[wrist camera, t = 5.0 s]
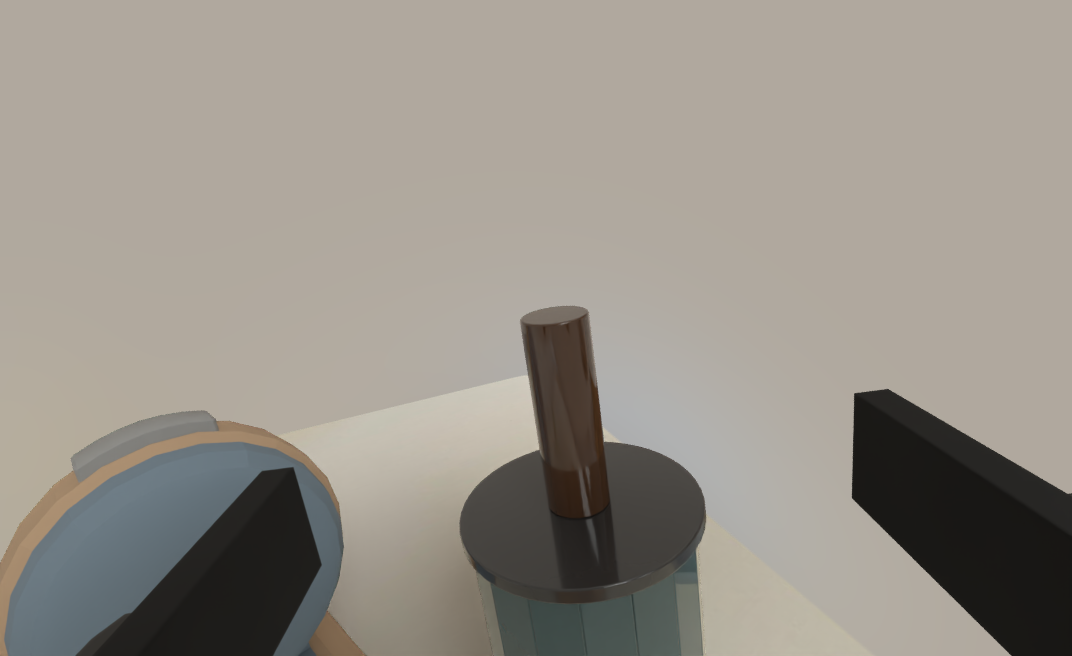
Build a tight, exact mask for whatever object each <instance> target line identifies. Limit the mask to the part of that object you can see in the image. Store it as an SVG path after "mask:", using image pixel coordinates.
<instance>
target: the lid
mask: <svg viewBox="0 0 1072 656" xmlns="http://www.w3.org/2000/svg"><path fill="white" fill-rule="evenodd" d="M520 325H521V331H522V338H523V344H524V351H525V358H526V364H527V370H528V377H529V384H530V390H531V397H532V403H533V410H534V417H535V423H536V430H537V436H538V443H539V449H540V450H538V451H535V452H532V453H529V454H526V455H524V456H521V457H519V458H517V459H514V460H512V461H511V462H509V463H507V464H505V465H503V466H501V467H500V468H498V469H497V470H495V471H494V472H492V473H491V474H490V475H488V476H487V477H486V478H485V479H484V480H482V481H481V482H480V483H479V484H478V485H477V486H476V488H475V489H474V490H473V491H472V493H471V494H470V495H469V497H468V499H467V500H466V502H465V504H464V507H463V509H462V512H461V517H460V522H459V526H460V536H461V541H462V545H463V549H464V553H465V555H466V557H467V559H468V560H469V562H470V564H471V565H472V566H473V567H474V569H475V570H476V571H477V572H478V573H479V574H480V575H481V576H482V577H483V578H485V579H486V580H487V581H488V582H490V583H491V584H493V585H495V586H496V587H498V588H499V589H502V590H504V591H506V592H508V593H511V594H513V595H516V596H519V597H522V598H526V599H529V600H534V601H540V602H545V603H555V604H588V603H595V602H603V601H609V600H613V599H617V598H621V597H625V596H628V595H631V594H634V593H637V592H639V591H642V590H645V589H647V588H649V587H651V586H653V585H655V584H657V583H659V582H661V581H662V580H664V579H665V578H667V577H668V576H670V575H671V574H673V573H674V572H675V571H677V570H678V569H679V568H680V567H681V566H682V565H683V564H685V563H686V561H687V560H688V559H689V558H690V557H691V556H692V554H693V553H694V552H695V550H696V548H697V547H698V545H699V543H700V541H701V539H702V536H703V533H704V530H705V523H706V510H705V501H704V496H703V494H702V490H701V488H700V487H699V485H698V483H697V482H696V480H695V479H694V478H693V476H692V475H691V474H690V473H689V472H688V471H687V470H686V469H685V468H684V467H682V466H681V465H680V464H678V463H677V462H675V461H674V460H672V459H670V458H668V457H666V456H664V455H662V454H660V453H657V452H655V451H652V450H649V449H646V448H642V447H639V446H634V445H628V444H622V443H614V442H604V438H603V430H602V421H601V412H600V404H599V395H598V387H597V378H596V370H595V361H594V352H593V344H592V336H591V327H590V318H589V312H588V310H587V309H585V308H583V307H577V306H560V307H559V306H558V307H550V308H545V309H541V310H537V311H533V312H531V313H529V314H526V315H524V316H523V317H522V318H521V320H520Z"/></svg>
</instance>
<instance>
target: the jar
mask: <svg viewBox="0 0 1072 656" xmlns="http://www.w3.org/2000/svg"><path fill="white" fill-rule="evenodd" d="M476 574H477V579H478V584H479V589H480V594H481V599H482V604H483V608H484V613H485V618H486V623H487V628H488V633H489V638H490V643H491V648H492V653H493V656H706V650H705V635H704V620H703V606H702V591H701V576H700V561H699V547H697V548H696V550H695V552H694V553H693V554H692V556H691V557H690V558H689V559H688V560H687V561H686V563H685V564H683V565H682V566H681V567H680V568H679V569H678V570H677V571H675V572H674V573H673V574H671V575H670V576H668V577H667V578H665V579H664V580H662V581H661V582H659V583H657V584H655V585H653V586H651V587H649V588H647V589H645V590H642V591H639V592H637V593H634V594H631V595H628V596H625V597H621V598H617V599H613V600H609V601H603V602H595V603H588V604H555V603H545V602H540V601H534V600H529V599H526V598H522V597H519V596H516V595H513V594H511V593H508V592H506V591H504V590H502V589H499V588H498V587H496V586H495V585H493V584H491V583H490V582H488V581H487V580H486V579H485V578H483V577H482V576H481V575H480V574H479V573H478V572H477V571H476Z"/></svg>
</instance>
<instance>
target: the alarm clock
mask: <svg viewBox="0 0 1072 656" xmlns="http://www.w3.org/2000/svg"><path fill="white" fill-rule="evenodd" d="M71 462H72V466H73V471H72V472H71V473H69V474H68V475H67V476H65V477H64V478H63V479H61V480H60V481H58V482H57V483H56V484H54V485H53V487H52V488H51V489H50V490H49V491H48V492H47V493H46V495H45V496H44V497H43V498H42V499H41V500H40V502H39V503H38V504H37V505H36V506H35V507H34V508H33V509H32V511H31V512H30V513H29V514H28V515H27V516H26V518H25V519H24V520H23V521H22V522H21V523H20V524H19V526H18V528H17V530H16V532H15V534H14V537H13V539H12V540H11V542H10V545H9V546H8V548H7V550H6V553H5V554H4V556H3V559H2V560H1V562H0V656H75V655H76V654H77V653H78V652H79V651H80V650H81V649H82V648H83V647H84V646H85V645H86V644H87V643H88V642H89V641H90V640H91V639H92V638H93V637H94V636H96V635H97V634H99V633H100V632H101V631H103V630H104V629H105V628H107V627H108V626H109V625H111V624H112V623H113V622H115V621H116V620H117V619H119V618H120V617H121V616H123V615H124V614H127V613H132V612H133V611H134V610H135V609H136V608H137V606H138V605H139V604H140V603H141V602H142V601H143V600H144V599H145V598H146V597H147V596H148V594H149V593H150V592H151V591H152V590H153V589H154V588H155V587H156V586H157V585H158V584H159V582H160V581H161V580H162V579H163V578H164V577H165V576H166V575H167V574H168V573H169V572H170V570H171V569H172V568H173V567H174V566H175V565H176V564H177V563H178V562H179V561H180V560H181V558H182V557H183V556H184V555H185V554H186V553H187V552H188V551H189V550H190V549H191V548H192V546H193V545H194V544H195V543H196V542H197V541H198V540H199V539H200V538H201V537H202V536H203V534H204V533H205V532H206V531H207V530H208V529H209V528H210V527H211V526H212V525H213V524H214V522H215V521H216V520H217V519H218V518H219V517H220V516H221V515H222V514H223V513H224V512H225V510H226V509H227V508H228V507H229V506H230V505H231V504H232V503H233V502H234V501H235V500H236V498H237V497H238V496H239V495H240V494H241V493H242V492H243V491H244V490H245V489H246V488H247V486H248V485H249V484H250V483H251V482H252V481H253V480H254V479H255V478H256V477H257V476H258V474H259V473H260V472H261V471H265V470H273V469H281V468H288V467H294V470H295V474H296V477H297V481H298V484H299V487H300V491H301V494H302V498H303V501H304V505H305V508H306V512H307V515H308V518H309V522H310V525H311V529H312V532H313V536H314V539H315V543H316V546H317V550H318V553H319V556H320V560H321V563H322V566H321V568H320V569H319V571H318V573H317V575H316V577H315V579H314V581H313V582H312V584H311V586H310V588H309V590H308V592H307V594H306V595H305V597H304V599H303V601H302V603H301V605H300V607H299V609H298V610H297V612H296V614H295V616H294V618H293V620H292V622H291V623H290V625H289V627H288V629H287V631H286V633H285V635H284V636H283V638H282V640H281V642H280V644H279V646H278V648H277V649H276V651H275V653H274V655H273V656H365V655H364V653H363V652H362V651H361V650H360V649H359V648H358V646H357V645H356V644H355V643H354V642H353V641H352V639H351V638H350V637H349V636H348V635H347V633H346V632H345V631H344V630H343V629H342V628H341V626H340V625H339V624H338V623H337V622H336V621H335V619H334V618H333V617H332V616H331V615H330V614H329V612H328V611H327V609H328V606H329V604H330V601H331V598H332V596H333V593H334V591H335V588H336V585H337V582H338V579H339V575H340V568H341V561H342V554H343V548H344V545H343V537H342V525H341V517H340V509H339V503H338V501H337V498H336V496H335V494H334V492H333V489H332V487H331V485H330V483H329V481H328V478H327V477H326V476H325V475H324V473H323V472H322V471H321V470H320V469H319V468H318V467H317V466H316V465H315V464H314V463H313V462H312V461H311V459H310V458H309V457H308V456H307V455H306V454H304V453H303V452H301V451H300V450H298V449H297V448H296V447H294V446H293V445H291V444H290V443H288V442H286V441H284V440H282V439H281V438H279V437H277V436H275V435H273V434H272V433H270V432H268V431H266V430H264V429H261V428H257V427H252V426H248V425H244V424H239V423H235V422H231V421H216V419H215V418H214V417H212V416H211V415H210V414H209V413H208V412H207V411H188V412H179V413H172V414H166V415H160V416H156V417H152V418H149V419H145V420H141V421H138V422H136V423H133V424H131V425H128V426H125V427H123V428H120V429H118V430H116V431H114V432H112V433H110V434H108V435H106V436H104V437H102V438H100V439H98V440H97V441H95V442H93V443H92V444H90V445H88V446H87V447H85V448H84V449H82V450H81V451H79V452H78V453H76V454H74V455H73V456H72V457H71Z"/></svg>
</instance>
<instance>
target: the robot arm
mask: <svg viewBox="0 0 1072 656" xmlns="http://www.w3.org/2000/svg"><path fill="white" fill-rule="evenodd" d="M852 476H853V477H852V499H853V500H855V502H856V503H857V504H859V506H860V507H861V508H862V509H864V511H866V512H867V513H868V514H869V515H870V516H871V517H872V518H873V519H874V520H875V521H876V522H877V523H878V524H879V525H880V526H881V527H882V528H883V529H884V530H885V531H886V532H887V533H888V534H889V535H890V536H891V537H892V538H893V539H894V540H895V541H896V542H897V543H898V544H899V545H900V546H901V547H902V548H903V549H904V550H905V551H906V552H907V553H908V554H909V555H910V556H911V557H912V558H913V559H914V560H915V561H916V562H917V563H918V564H919V565H920V566H921V567H922V568H923V569H924V570H925V571H926V572H927V573H928V574H929V575H931V577H932V578H933V579H934V580H935V581H936V582H937V583H939V585H940V586H941V587H942V588H943V589H945V590H946V591H947V592H948V593H949V594H950V595H951V596H952V597H953V598H954V599H955V600H956V601H957V602H958V603H959V604H960V605H961V606H962V607H963V608H964V609H965V610H966V611H967V612H968V613H969V614H970V615H971V616H972V617H973V618H974V619H975V620H976V621H977V622H978V623H979V624H980V625H981V626H982V627H983V628H984V629H985V630H986V631H987V632H988V633H989V634H990V635H991V636H992V637H993V638H994V639H995V640H996V641H997V642H998V643H999V644H1000V645H1001V646H1002V647H1003V648H1004V649H1005V650H1006V651H1007V652H1008V653H1009V654H1010V655H1011V656H1072V493H1071V494H1067V493H1065V492H1063V491H1062V490H1060V489H1058V488H1057V487H1055V486H1053V485H1051V484H1049V483H1048V482H1046V481H1044V480H1043V479H1041V478H1039V477H1038V476H1036V475H1034V474H1033V473H1031V472H1029V471H1027V470H1026V469H1024V468H1022V467H1021V466H1019V465H1017V464H1015V463H1014V462H1012V461H1010V460H1008V459H1007V458H1005V457H1003V456H1002V455H1000V454H998V453H997V452H995V451H993V450H991V449H990V448H988V447H986V446H985V445H983V444H981V443H979V442H978V441H976V440H974V439H973V438H971V437H969V436H967V435H966V434H964V433H962V432H960V431H959V430H957V429H956V428H954V427H952V426H950V425H949V424H947V423H945V422H944V421H942V420H940V419H938V418H937V417H935V416H933V415H932V414H930V413H928V412H926V411H925V410H923V409H921V408H920V407H918V406H916V405H914V404H913V403H911V402H909V401H907V400H906V399H904V398H902V397H901V396H899V395H897V394H896V393H894V392H892V391H891V390H889V389H885V390H877V391H869V392H862V393H855V394H854V434H853V475H852ZM321 566H322V563H321V560H320V556H319V553H318V550H317V546H316V543H315V539H314V536H313V532H312V529H311V525H310V522H309V518H308V515H307V512H306V508H305V505H304V501H303V498H302V494H301V491H300V487H299V484H298V481H297V477H296V474H295V470H294V467H288V468H281V469H273V470H265V471H261V472H260V473H259V474H258V476H257V477H256V478H255V479H254V480H253V481H252V482H251V483H250V484H249V485H248V486H247V488H246V489H245V490H244V491H243V492H242V493H241V494H240V495H239V496H238V497H237V498H236V500H235V501H234V502H233V503H232V504H231V505H230V506H229V507H228V508H227V509H226V510H225V512H224V513H223V514H222V515H221V516H220V517H219V518H218V519H217V520H216V521H215V522H214V524H213V525H212V526H211V527H210V528H209V529H208V530H207V531H206V532H205V533H204V534H203V536H202V537H201V538H200V539H199V540H198V541H197V542H196V543H195V544H194V545H193V546H192V548H191V549H190V550H189V551H188V552H187V553H186V554H185V555H184V556H183V557H182V558H181V560H180V561H179V562H178V563H177V564H176V565H175V566H174V567H173V568H172V569H171V570H170V572H169V573H168V574H167V575H166V576H165V577H164V578H163V579H162V580H161V581H160V582H159V584H158V585H157V586H156V587H155V588H154V589H153V590H152V591H151V592H150V593H149V594H148V596H147V597H146V598H145V599H144V600H143V601H142V602H141V603H140V604H139V605H138V606H137V608H136V609H135V610H134V611H133V612H132V613H127V614H124V615H123V616H121V617H120V618H119V619H117V620H116V621H115V622H113V623H112V624H111V625H109V626H108V627H107V628H105V629H104V630H103V631H101V632H100V633H99V634H97V635H96V636H94V637H93V638H92V639H91V640H90V641H89V642H88V643H87V644H86V645H85V646H84V647H83V648H82V649H81V650H80V651H79V652H78V653H77V654H76V655H75V656H273V655H274V653H275V651H276V649H277V648H278V646H279V644H280V642H281V640H282V638H283V636H284V635H285V633H286V631H287V629H288V627H289V625H290V623H291V622H292V620H293V618H294V616H295V614H296V612H297V610H298V609H299V607H300V605H301V603H302V601H303V599H304V597H305V595H306V594H307V592H308V590H309V588H310V586H311V584H312V582H313V581H314V579H315V577H316V575H317V573H318V571H319V569H320V568H321Z"/></svg>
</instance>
